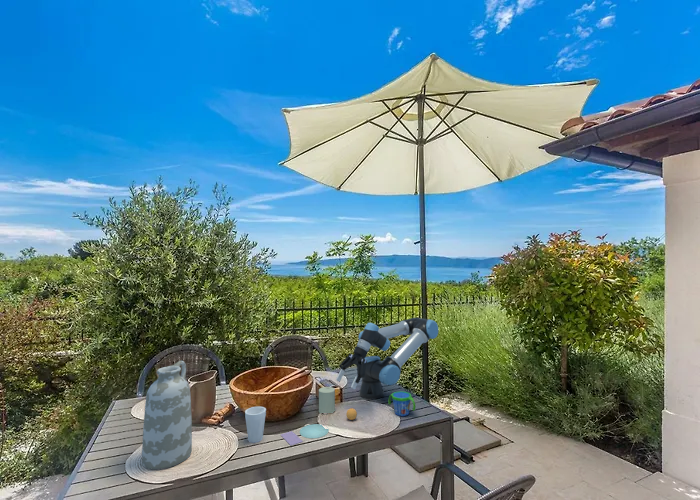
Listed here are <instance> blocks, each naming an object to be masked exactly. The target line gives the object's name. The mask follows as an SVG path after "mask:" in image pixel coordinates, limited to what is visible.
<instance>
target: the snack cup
mask: <svg viewBox="0 0 700 500" xmlns="http://www.w3.org/2000/svg"><path fill="white" fill-rule="evenodd" d="M414 399H415V398H413V396H412V394H411V393H410V392H407V391H403V390H401V391H399V390H398V391H395V392H392V393H391V394H390V395H389V396H388V401H387V402H388V403H387V404H388V406H389V405H391V404H392V405H393V409H394V413H395V415H397V416H399V417H405V416H408V415H409V413H410V408H411V402H412V411H415V410H416V403H415V402H416V401H415V400H414Z"/></svg>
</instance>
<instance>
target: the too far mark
mask: <svg viewBox="0 0 700 500" xmlns="http://www.w3.org/2000/svg"><path fill="white" fill-rule="evenodd" d="M280 436H281V437H282V438H283V439H284V440H285V442H287V444H288V445H289V446H294V445H297V444H300V443H303V442H304V441H303V439H301V438H300V437H299V436H298V435H297V434H296V433H294V432H293V430H291V431H287V432H284V433H281V434H280Z"/></svg>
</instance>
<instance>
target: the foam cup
mask: <svg viewBox="0 0 700 500" xmlns="http://www.w3.org/2000/svg"><path fill="white" fill-rule="evenodd" d="M266 411H267V408H266V407H264V406H252V407H249V408H247V409H245V410H244V412H245V413H244V417H245V424H246V425H245V426H246V431H247V440H248V442H249V443H259V442H261V441H262V440H263V436H264V430H265V429H264V428H265V421H266V415H267V412H266Z"/></svg>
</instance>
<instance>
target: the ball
mask: <svg viewBox="0 0 700 500" xmlns="http://www.w3.org/2000/svg"><path fill="white" fill-rule="evenodd" d="M357 416H358V413H357V410H356V409H355V408H349V409H347V411H346V418H347V419H348V420H351V421H353V420H355V419H356V418H357Z"/></svg>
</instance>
